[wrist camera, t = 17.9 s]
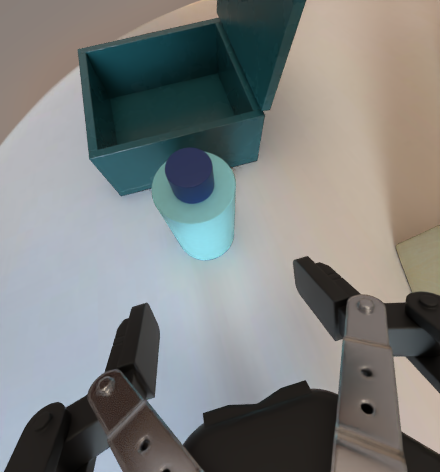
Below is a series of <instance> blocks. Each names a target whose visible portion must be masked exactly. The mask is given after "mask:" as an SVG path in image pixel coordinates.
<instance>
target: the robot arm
mask: <svg viewBox="0 0 440 472" xmlns="http://www.w3.org/2000/svg"><path fill="white" fill-rule="evenodd" d="M293 267H294V276H295V284H296V288H297V290H298V292H299V294H300V295H301V297H302V298H303V299H304V301H305V302H306V303H307V305H308V306H309V307H310V309H311V310H312V311H313V313H314V314H315V315H316V317H317V318H318V319H319V320H320V322H321V323H322V324H323V326H324V327H325V328H326V330H327V331H328V332H329V334H330V335H331V336H332V338H333V339H334V340H335V341H338V340H341V339H343V344H342V356H341V368H340V380H339V392H338V394H335V393H333V392H330V391H326V390H321V389H310V388H309V386H308V384H307V382H306V380H305V381H302V382H299V383H296V384H292V385H289V386H286V387H283V388H280V389H279V390H277V391H276V392H274V393H273V394H272V395H270V396H269V397H267V398H266V399H264V400H263V401H261V402H260V403H257V404H245V405H227V406H224V407H221V408H218V409H215V410H212V411H209V412H206V413H203V418H204V424H202V425H201V426H199V427H198V428H197V429H196V430H195V431H194V432H193V433H192V434H191V435H190V436H189V437H188V439H187V440H186V441H185V443H184V444H183V445H182V444H181V442H180V441H179V440H178V439H177V437H176V436H175V435H174V434H173V432H172V431H171V430H170V429H169V427H168V426H167V425H166V424H165V422H164V421H163V420H162V419H161V418H160V416H159V415H158V414H157V413H156V411H155V410H154V409H153V408H152V406H151V405H150V404H149V403H148V402H147V400H148V399H151V398H154V397H155V388H156V376H157V364H158V352H159V340H160V331H159V326H158V323H157V321H156V319H155V317H154V315H153V313H152V310H151V308H150V306H149V304H148V303H144V304H141V305H137V306H134V307H132V309H131V313H130V316H129V318H128V319H125V320H123V322H122V323H121V325H120V326H119V327H118V329H117V333H116V336H115V339H114V343H113V346H112V349H111V353H110V356H109V359H108V363H107V366H106V369H105V373H103V374H102V375H101V376H99V377H98V378H97V379H96V380H95V381H94V382H93V384H92V385H91V387H90V389H89V391H88V395H86V396H85V397H83V398H81V399H80V400H78V401H76V402H75V403H73V404H71V405H70V406H68V407H65V406H64V405H63V404H62V403H60V402H55V403H51V404H49V405H47V406H45V407H44V408H42V409H41V410H40V411H38V412H37V413H36V414H35V415H34V416H33V417H32V418H31V419H30V421H29V422H28V423H27V425H26V426H25V428H24V430H23V432H22V435H21V437H20V439H19V441H18V443H17V445H16V447H15V449H14V452H13V454H12V456H11V458H10V460H9V462H8V464H7V467H6V469H5V471H4V472H93V471H94V466H95V461H96V456H98V455H99V454H100V453H102V452H103V451H105V450H106V449H108V448H109V447H110V448H111V450H112V452H113V454H114V456H115V458H116V460H117V461H118V463H119V465H120V467H121V469H122V471H123V472H440V454H438V453H437V452H435V451H433V450H432V449H430V448H428V447H426V446H425V445H423V444H421V443H420V442H418V441H416V440H415V439H413V438H411V437H410V436H408V435H406V434H405V433H403V432H401V426H400V416H399V407H398V397H397V388H396V378H395V369H394V360H393V356H406V358H407V359H408V360H409V361H410V362H411V363H412V364H413V365H414V366H415V367H416V368H417V369H418V370H419V371H420V373H421V374H422V375H423V376H424V377H425V378H426V379H427V380H428V381H429V382H430V383H431V384H432V385H433V387H434V388H435V389H436V390H437V391H438V392H439V393H440V296H439V295H437V294H434V293H430V292H422V291H419V292H413V293H410V294H409V295H408V296H407V297H406V303H383V302H382V301H380V300H379V299H377V298H375V297H373V296H370V295H361V294H360V293H359V292H358V291H357V290H356V289H354V288H353V287H352V286H351V285H350V284H349V283H348V282H347V281H345V280H344V279H343V278H341V276H340V275H339V274H337V273H336V272H335V271H334V270H333V269H332V268H331V267H330V266H328V265H325V264H323V263H320V262H319V263H314V262H313V261H312V260H311V259H310V258H309V257H308V256H306V257H303V258H299V259H296V260H294V261H293Z"/></svg>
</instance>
